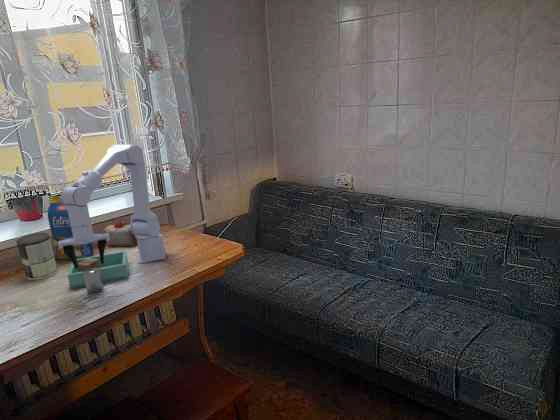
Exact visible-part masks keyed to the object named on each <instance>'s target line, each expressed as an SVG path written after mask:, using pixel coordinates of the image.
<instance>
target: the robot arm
mask: <svg viewBox="0 0 560 420" xmlns="http://www.w3.org/2000/svg"><path fill="white" fill-rule="evenodd" d="M144 159H145V157H144V149H143V148H142V147H140V146H139V145H138V144H136V143H135V144H134V143H132V144H116V143H115V144H112V145H111V146H110V147H109V148H108V149H106V153H105V155H104V156H103V157H102V158H101V159H100V161H99V162H98V163H97V164H96V166H94V168H93V169H88V170H84V171H82V173H81V174H82V175H81V176H79V178H78V179H76V181H73V182H72V185H71V186H67V187H64V189H63V190H62V192H61V193H60V194H61V195H60V196H61V198H60V200H61V202H62V203H63V204H64V205H65V207H66V210H67V211H68V215H69V220H70V224H71V229H72V233H73V237H74V238H70V239H66V240H62V241H59V242H58V245H59V249H61V248H64V250H63V251H64V253H65V254H66V255H67V256H68V257H69V258H70V261H71V264H72V263H73V265H74V267H75V269H76V268H78V262H77V258H76V254H75V248H74V246H75V245H81V244H87V243H92V244H93V243H97V245H96V246H97V249H98V253H99V255H100V260H101V264H103V263H104V254H105V250H106V246H107V245H106V244H107V242H108V241H109V240H110V237H109V233H106V234H105V233H94V232H93V226H92V221H91V217H90V211H89V205H88V204H89V202H90V200H91V196H92V194H93V192H95V191H96V189H97V188H98V187H99V186H100V185H102V183H103V182H102V181H103V177H104V176H105V175H106V174H107V173H109V172H110V170H111V169H112V168H114V167H115V166H116V165H117V164H119V165H122V166H123V167H125V168H126V169H128V170H129V175H130V182H131V191H132V199H133V206H134V207H133V208H134V212H133V214H131V216H130V224H129V225H130V230H131V232H132V234H134V235H135V237H136V238H137V243H138V244H137V246H138V252H139V254H138V257H139V258H138V260H139V261H138V262H139V264H144V263H148V262H154V261H160V260H166V258H167V257H166V247H165V246H164V244H165V243H164V239H163V234H162V233H160V230H161V224H160V222H159V220H158V215H157V214H155V212H153V211H152V210H151V206H150V198H149V197H150V195H149V189H148V180H147V170H146V163H145V160H144Z"/></svg>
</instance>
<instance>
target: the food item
mask: <svg viewBox="0 0 560 420" xmlns="http://www.w3.org/2000/svg"><path fill="white" fill-rule="evenodd" d="M103 230H104V234H106V233H109V237H110V240H109V241H107V245H108V247H136V246H138V243H137V238H136V237H135V235H134V234H132V232H131V230H130V224H127V223H126V222H125V220H123V221H118V222H117V223H115V224H110V225H108V226H107V227H105V228H103Z"/></svg>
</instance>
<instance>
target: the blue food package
mask: <svg viewBox="0 0 560 420" xmlns="http://www.w3.org/2000/svg"><path fill="white" fill-rule="evenodd" d="M60 198H61V195H60V196H59V195H56V196H52V195H51V196H50V195H49V196H48V199H49V203H50V204H49V205H48V209H47V220H48V225H49V227H50V232H51V237H52V240H53V245H54V250H55V252H56V257H57V260H65V261H66V260H70V258H69V257H68V256H67V255H66V254H65V253H64V251H63V250H64V248H61V249H59V245H58V242H59V241H62V240H66V239H70V238H74V237H73V233H72V229H71V224H70V220H69V215H68V211H67V210H66V207H65V205H64V204H63V203H62V202H61V200H60ZM74 248H75V254H76V258H77V259H81V258H87V257H93V256H94V247H93V243H87V244H81V245H75V246H74ZM70 261H71V260H70Z"/></svg>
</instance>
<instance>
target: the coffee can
mask: <svg viewBox="0 0 560 420" xmlns="http://www.w3.org/2000/svg"><path fill="white" fill-rule="evenodd" d="M50 237H51V236H50V234H49V233H48V232H37V233H31V234H28V235H24V236H22V237H19V238H18V239H17V240H16V245H17V248H18V251H19V256H20V259H21V262H22V267H23V270H24V274H25V278H26V279H27V280H28V281H37V280H42V279H45V278H49V277H51V276H53V275H54V274H56V273H57V272H58V267H57V266H58V265H57V262H56V258H55V255H54V254H55V253H54V251H53V247H52V246H53V245H52V242H51V238H50Z"/></svg>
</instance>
